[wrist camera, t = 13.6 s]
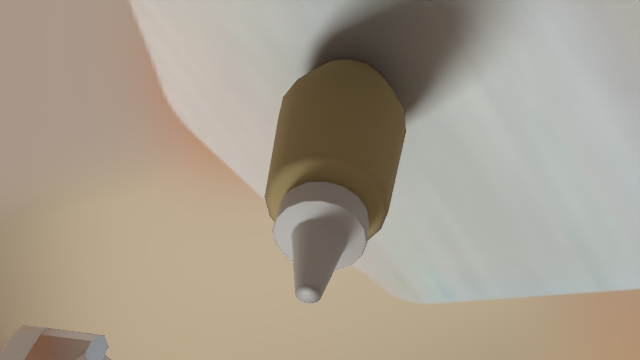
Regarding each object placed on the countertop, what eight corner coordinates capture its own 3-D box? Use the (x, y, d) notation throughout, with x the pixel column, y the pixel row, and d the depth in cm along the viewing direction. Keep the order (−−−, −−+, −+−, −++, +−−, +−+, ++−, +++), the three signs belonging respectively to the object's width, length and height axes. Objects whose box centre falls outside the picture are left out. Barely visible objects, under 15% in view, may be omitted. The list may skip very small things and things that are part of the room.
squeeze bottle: (371, 164, 43) (349, 374, 29) (270, 116, 42) (194, 311, 27) (430, 75, 38) (438, 273, 24) (318, 19, 37) (256, 192, 23)
